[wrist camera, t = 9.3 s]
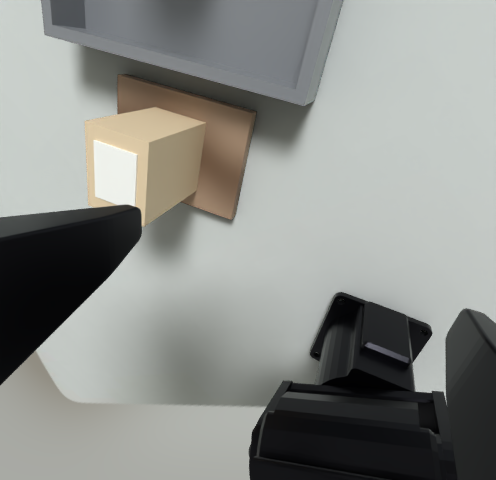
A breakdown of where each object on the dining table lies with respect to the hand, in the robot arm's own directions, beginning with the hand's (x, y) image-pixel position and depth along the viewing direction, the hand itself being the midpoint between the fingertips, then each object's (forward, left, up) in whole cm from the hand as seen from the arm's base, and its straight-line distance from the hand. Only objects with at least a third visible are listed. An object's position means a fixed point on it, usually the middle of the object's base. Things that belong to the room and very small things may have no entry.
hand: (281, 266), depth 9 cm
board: (-2, +10, -12) cm, 16 cm away
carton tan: (-2, +10, -12) cm, 15 cm away
